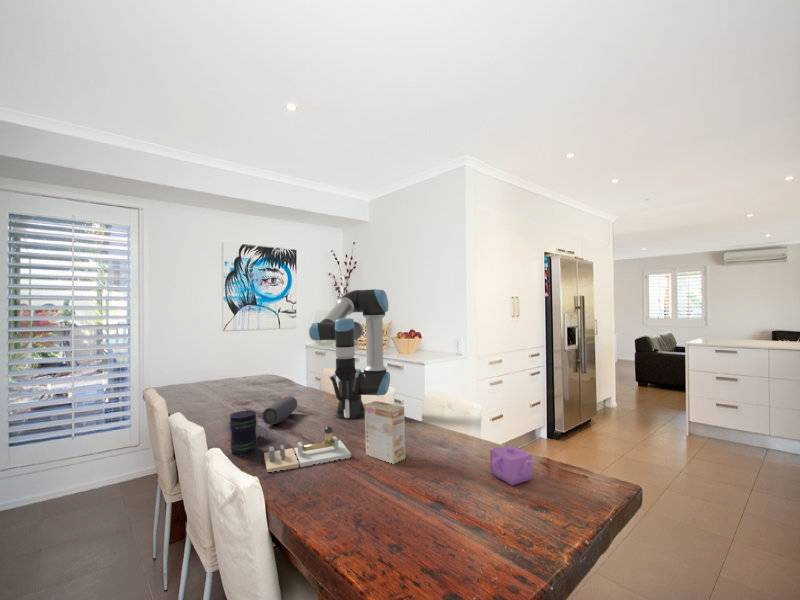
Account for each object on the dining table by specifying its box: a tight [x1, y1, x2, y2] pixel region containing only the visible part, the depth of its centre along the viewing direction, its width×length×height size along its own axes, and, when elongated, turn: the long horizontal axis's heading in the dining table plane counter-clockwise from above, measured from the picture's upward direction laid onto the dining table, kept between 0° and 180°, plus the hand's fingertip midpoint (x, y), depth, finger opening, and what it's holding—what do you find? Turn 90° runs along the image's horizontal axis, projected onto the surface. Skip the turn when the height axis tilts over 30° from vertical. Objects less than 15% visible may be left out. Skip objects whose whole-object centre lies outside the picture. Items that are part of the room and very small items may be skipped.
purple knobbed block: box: [489, 444, 534, 486], centre depth 127 cm, size 18×14×10 cm
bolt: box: [303, 426, 335, 451], centre depth 152 cm, size 15×3×8 cm, turn 113°
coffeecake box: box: [364, 400, 406, 465], centre depth 148 cm, size 15×7×20 cm, turn 47°
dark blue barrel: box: [229, 410, 258, 457], centre depth 158 cm, size 10×10×15 cm
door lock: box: [263, 435, 352, 473], centre depth 150 cm, size 30×16×6 cm, turn 113°
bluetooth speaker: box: [261, 395, 298, 426], centre depth 198 cm, size 23×9×10 cm, turn 172°
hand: (346, 416), depth 156 cm, fingers closed
